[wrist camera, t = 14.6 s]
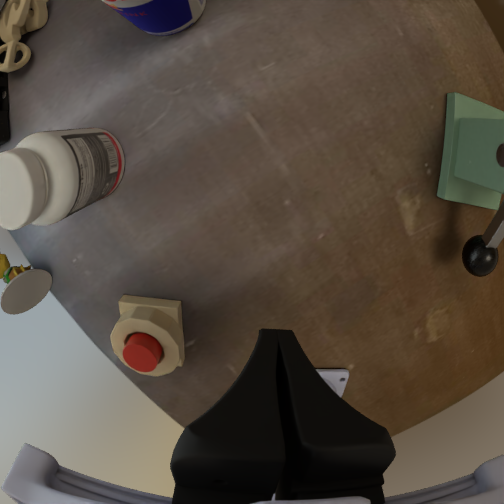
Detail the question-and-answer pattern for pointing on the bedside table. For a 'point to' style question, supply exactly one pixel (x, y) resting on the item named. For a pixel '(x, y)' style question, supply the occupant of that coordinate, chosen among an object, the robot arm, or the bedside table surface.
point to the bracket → (472, 153)
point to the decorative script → (19, 29)
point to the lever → (484, 247)
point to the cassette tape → (1, 105)
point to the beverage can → (159, 14)
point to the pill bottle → (57, 175)
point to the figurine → (22, 286)
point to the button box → (151, 329)
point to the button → (142, 352)
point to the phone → (2, 4)
